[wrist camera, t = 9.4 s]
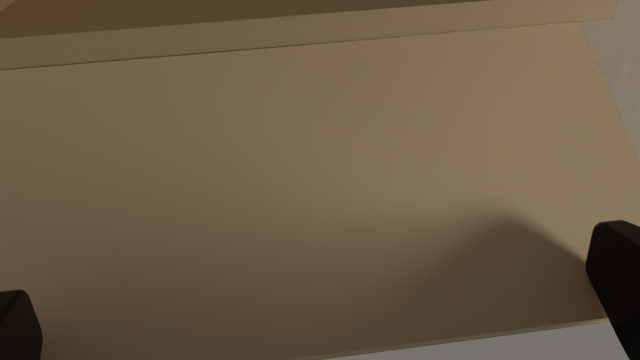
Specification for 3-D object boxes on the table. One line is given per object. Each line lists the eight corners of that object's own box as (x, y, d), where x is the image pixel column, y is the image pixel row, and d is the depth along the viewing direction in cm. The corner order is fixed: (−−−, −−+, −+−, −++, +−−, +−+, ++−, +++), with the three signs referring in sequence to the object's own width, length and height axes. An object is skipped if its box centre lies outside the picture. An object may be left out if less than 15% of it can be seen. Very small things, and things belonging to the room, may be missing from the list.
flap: (-24, 72, 12) (-15, 84, 12) (-79, 407, 9) (-64, 409, 9) (579, 22, 13) (571, 34, 13) (701, 305, 10) (687, 311, 10)
